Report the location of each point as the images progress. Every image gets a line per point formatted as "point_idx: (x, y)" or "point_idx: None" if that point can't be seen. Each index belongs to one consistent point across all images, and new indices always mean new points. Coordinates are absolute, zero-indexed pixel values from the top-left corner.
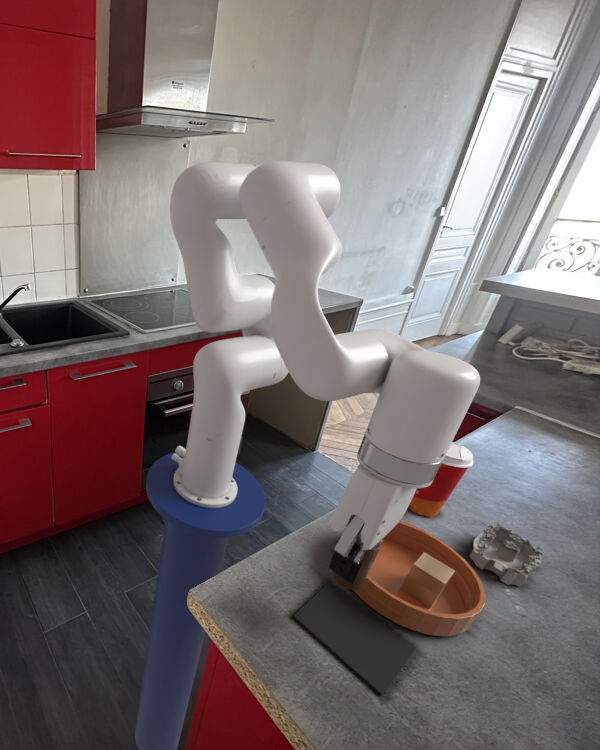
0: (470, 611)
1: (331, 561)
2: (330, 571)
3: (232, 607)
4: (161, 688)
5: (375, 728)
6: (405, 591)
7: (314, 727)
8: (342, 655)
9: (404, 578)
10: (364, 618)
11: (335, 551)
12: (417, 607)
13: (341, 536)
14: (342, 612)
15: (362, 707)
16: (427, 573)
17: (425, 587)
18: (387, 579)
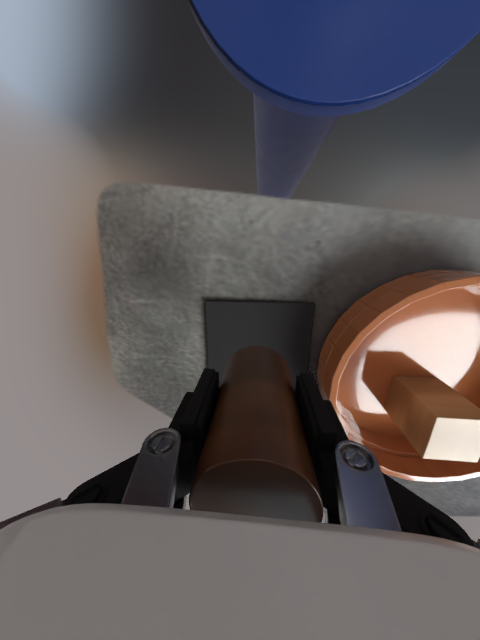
0: (397, 473)
1: (200, 380)
2: (238, 351)
3: (135, 233)
4: (258, 188)
5: (175, 410)
6: (392, 382)
7: (121, 377)
8: (212, 366)
9: (422, 373)
10: (290, 362)
11: (188, 407)
12: None
13: (124, 498)
14: (273, 340)
15: (182, 397)
16: (428, 436)
17: (406, 418)
18: (397, 358)
